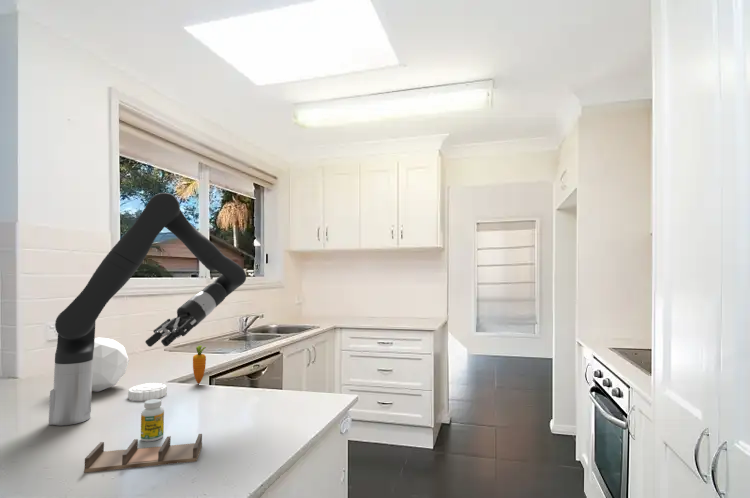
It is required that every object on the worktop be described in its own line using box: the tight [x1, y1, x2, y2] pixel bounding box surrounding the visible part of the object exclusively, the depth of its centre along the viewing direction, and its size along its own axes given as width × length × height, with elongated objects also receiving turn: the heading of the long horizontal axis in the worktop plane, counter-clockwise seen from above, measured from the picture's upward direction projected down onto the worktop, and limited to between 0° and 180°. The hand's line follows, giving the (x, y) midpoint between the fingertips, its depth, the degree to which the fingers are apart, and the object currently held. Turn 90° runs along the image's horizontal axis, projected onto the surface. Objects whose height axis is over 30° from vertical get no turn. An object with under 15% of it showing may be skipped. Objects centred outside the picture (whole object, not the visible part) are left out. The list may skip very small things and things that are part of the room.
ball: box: [92, 337, 130, 392], centre depth 157 cm, size 19×20×20 cm
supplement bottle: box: [140, 398, 165, 443], centre depth 111 cm, size 5×5×10 cm
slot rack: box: [83, 433, 203, 474], centre depth 99 cm, size 23×9×3 cm, turn 105°
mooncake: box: [127, 382, 168, 402], centre depth 149 cm, size 12×12×4 cm
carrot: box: [192, 345, 207, 385], centre depth 166 cm, size 5×5×15 cm
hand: (155, 344), depth 120 cm, fingers open, 8 cm apart
